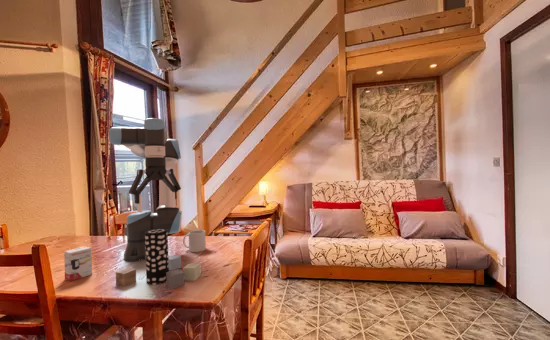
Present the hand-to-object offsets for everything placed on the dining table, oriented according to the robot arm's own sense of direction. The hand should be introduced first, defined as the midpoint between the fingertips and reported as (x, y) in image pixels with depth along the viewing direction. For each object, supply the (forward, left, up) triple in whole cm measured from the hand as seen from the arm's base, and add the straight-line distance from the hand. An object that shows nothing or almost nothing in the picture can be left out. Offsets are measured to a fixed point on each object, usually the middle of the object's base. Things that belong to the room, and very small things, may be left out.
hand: (157, 209), depth 108 cm
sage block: (+9, +9, -29) cm, 32 cm away
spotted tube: (0, -1, -29) cm, 29 cm away
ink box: (-32, -20, -29) cm, 47 cm away
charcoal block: (+10, +1, -29) cm, 30 cm away
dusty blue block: (-8, +10, -29) cm, 32 cm away
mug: (-24, +32, -29) cm, 50 cm away
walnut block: (-8, -10, -29) cm, 31 cm away
